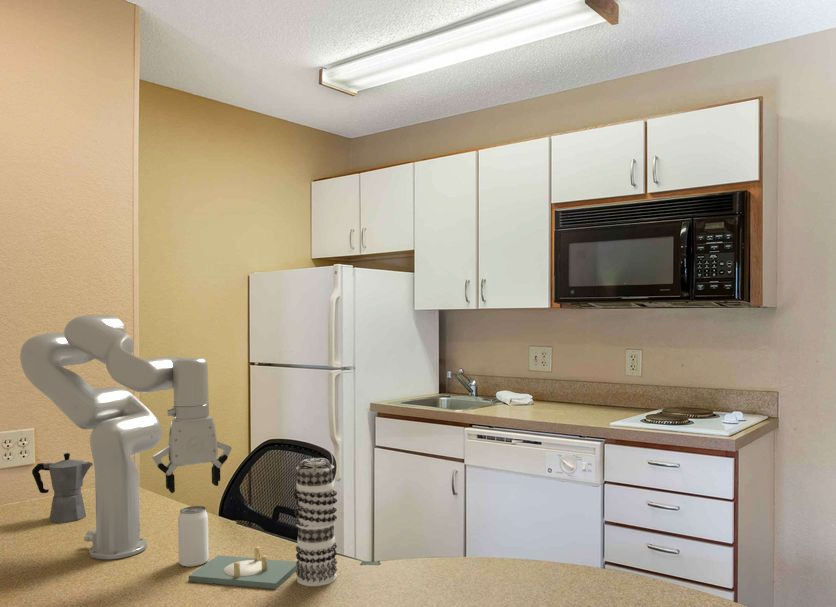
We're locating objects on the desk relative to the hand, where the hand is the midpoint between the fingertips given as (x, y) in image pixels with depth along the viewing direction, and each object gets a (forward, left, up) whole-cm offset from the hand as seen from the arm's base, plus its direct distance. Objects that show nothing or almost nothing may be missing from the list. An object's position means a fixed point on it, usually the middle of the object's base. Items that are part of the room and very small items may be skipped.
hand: (193, 488), depth 157 cm
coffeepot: (-54, +22, -17) cm, 61 cm away
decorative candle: (+31, -3, -17) cm, 35 cm away
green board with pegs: (+15, -4, -17) cm, 23 cm away
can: (0, 0, -17) cm, 17 cm away
